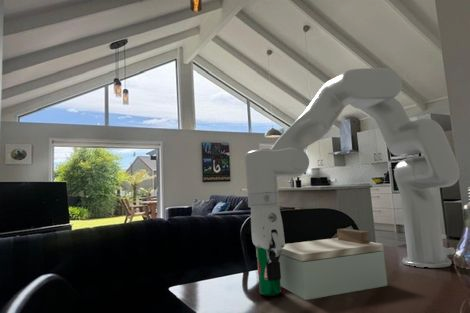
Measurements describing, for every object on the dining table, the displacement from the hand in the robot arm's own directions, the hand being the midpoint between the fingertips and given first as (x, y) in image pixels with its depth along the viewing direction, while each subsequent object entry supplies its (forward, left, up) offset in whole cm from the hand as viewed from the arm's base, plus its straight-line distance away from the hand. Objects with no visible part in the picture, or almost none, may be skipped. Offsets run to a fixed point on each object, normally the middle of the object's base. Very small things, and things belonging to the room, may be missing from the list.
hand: (269, 276), depth 79 cm
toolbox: (-16, 0, -4) cm, 16 cm away
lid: (-16, 0, +4) cm, 16 cm away
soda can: (0, 0, -4) cm, 4 cm away
